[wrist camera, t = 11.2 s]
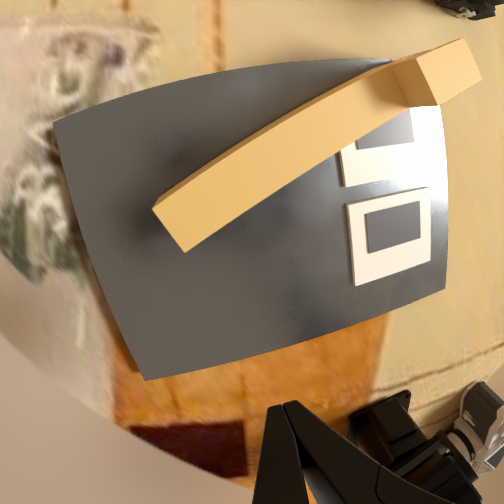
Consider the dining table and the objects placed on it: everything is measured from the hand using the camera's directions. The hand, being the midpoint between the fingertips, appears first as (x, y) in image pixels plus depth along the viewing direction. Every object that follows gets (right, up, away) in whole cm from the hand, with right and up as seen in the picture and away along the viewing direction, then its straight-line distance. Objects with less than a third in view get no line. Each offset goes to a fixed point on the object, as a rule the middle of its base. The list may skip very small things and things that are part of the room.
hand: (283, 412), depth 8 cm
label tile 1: (+8, +6, +10) cm, 14 cm away
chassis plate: (+1, +7, +9) cm, 12 cm away
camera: (+27, -18, +23) cm, 40 cm away
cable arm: (+2, +11, +6) cm, 13 cm away
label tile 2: (+6, +11, +8) cm, 15 cm away
